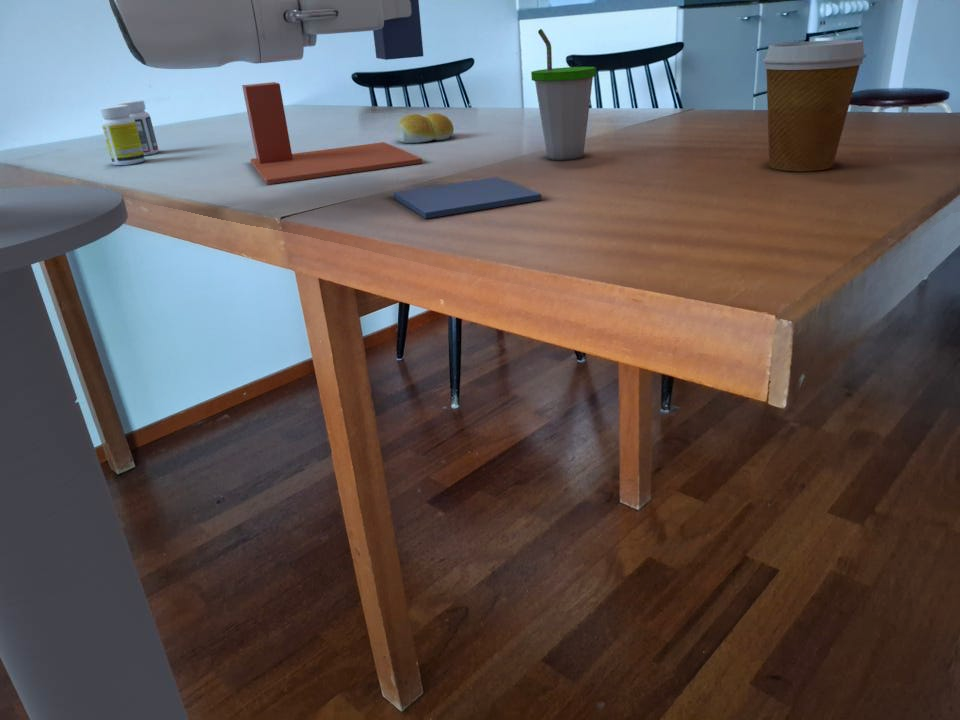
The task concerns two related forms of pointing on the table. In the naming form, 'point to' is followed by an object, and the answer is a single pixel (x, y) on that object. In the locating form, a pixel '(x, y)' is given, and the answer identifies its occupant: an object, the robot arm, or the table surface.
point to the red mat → (334, 162)
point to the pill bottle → (143, 126)
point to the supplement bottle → (121, 135)
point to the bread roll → (424, 128)
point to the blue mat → (465, 197)
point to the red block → (267, 122)
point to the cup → (563, 106)
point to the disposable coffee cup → (809, 100)
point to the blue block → (400, 36)
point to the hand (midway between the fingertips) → (402, 8)
